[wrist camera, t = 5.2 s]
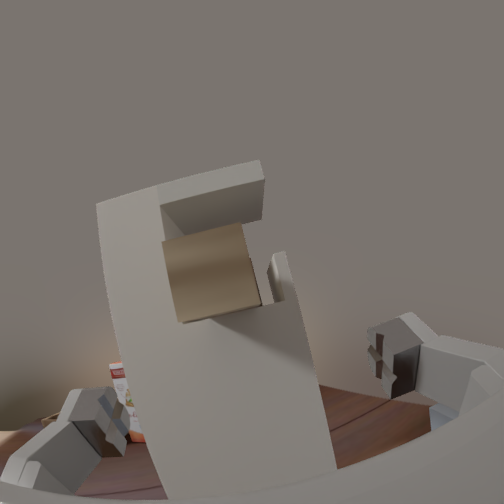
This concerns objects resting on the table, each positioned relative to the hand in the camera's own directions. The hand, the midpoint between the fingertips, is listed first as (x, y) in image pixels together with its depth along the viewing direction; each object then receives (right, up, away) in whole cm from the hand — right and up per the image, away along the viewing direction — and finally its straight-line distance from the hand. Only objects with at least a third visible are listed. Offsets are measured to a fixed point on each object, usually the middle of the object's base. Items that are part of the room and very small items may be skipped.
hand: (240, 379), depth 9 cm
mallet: (-1, 0, +11) cm, 11 cm away
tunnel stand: (+3, -26, +10) cm, 28 cm away
